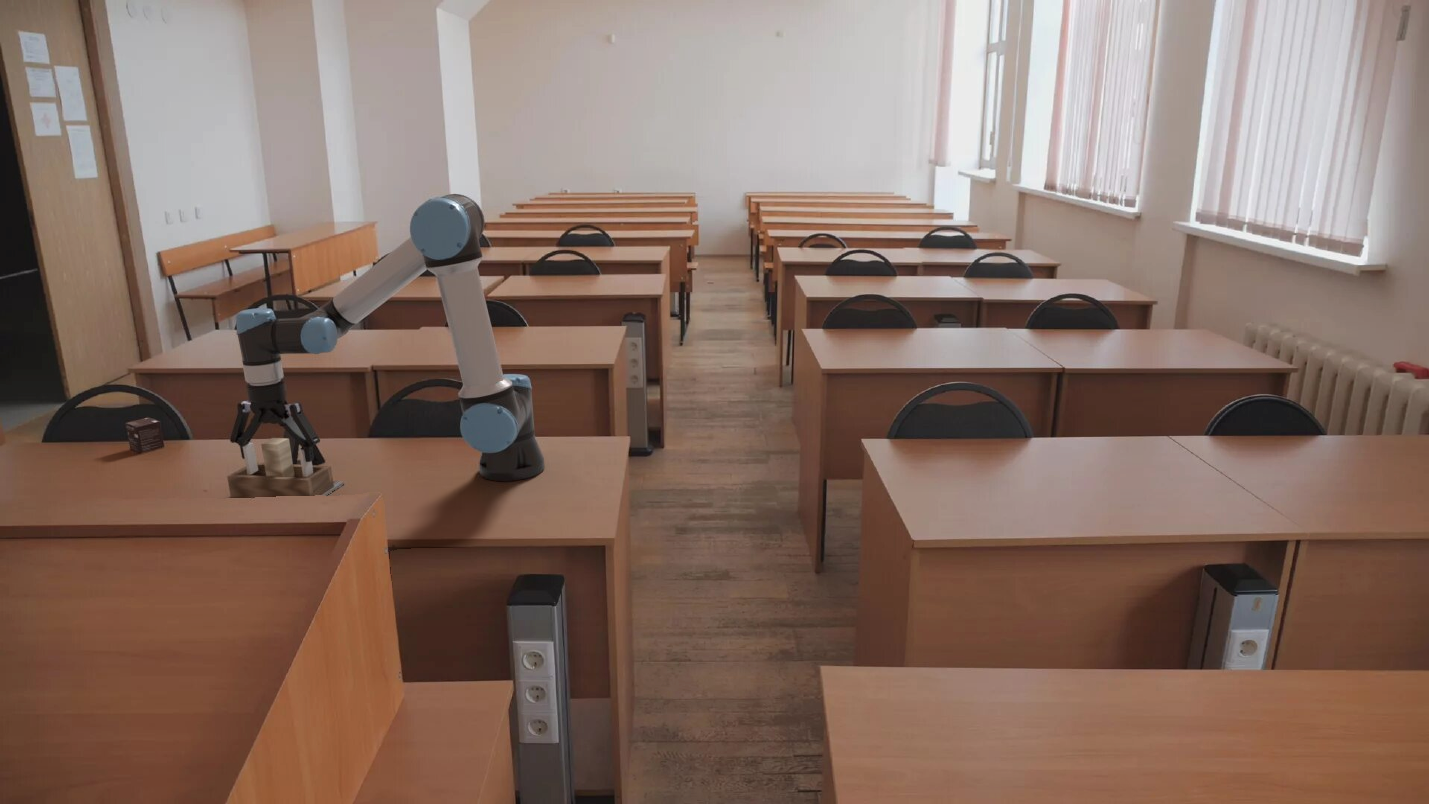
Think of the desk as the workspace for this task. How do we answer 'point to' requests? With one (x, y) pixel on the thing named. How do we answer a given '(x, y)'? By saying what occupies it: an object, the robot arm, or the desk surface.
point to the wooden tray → (282, 483)
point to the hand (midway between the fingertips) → (280, 474)
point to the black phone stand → (295, 448)
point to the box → (144, 435)
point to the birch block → (278, 458)
